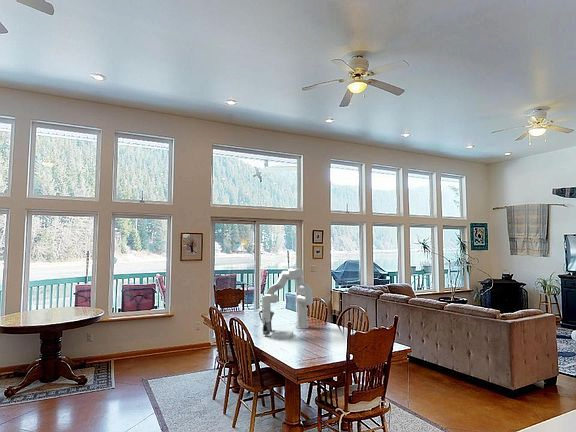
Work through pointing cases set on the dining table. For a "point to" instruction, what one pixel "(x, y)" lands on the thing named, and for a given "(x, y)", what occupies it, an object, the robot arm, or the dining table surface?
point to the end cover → (267, 329)
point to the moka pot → (270, 318)
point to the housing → (282, 334)
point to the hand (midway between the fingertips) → (266, 329)
